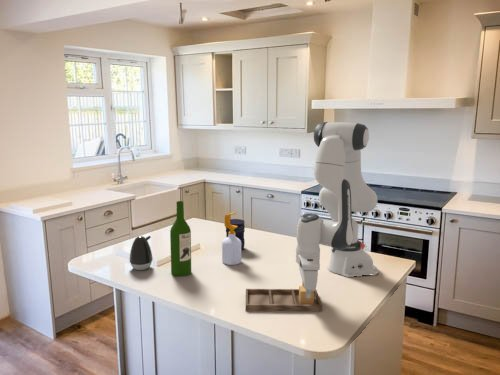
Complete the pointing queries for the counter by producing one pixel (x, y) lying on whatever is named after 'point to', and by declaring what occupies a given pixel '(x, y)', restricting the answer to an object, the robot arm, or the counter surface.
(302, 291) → the letter cube
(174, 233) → the wine bottle
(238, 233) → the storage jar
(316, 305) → the organiser
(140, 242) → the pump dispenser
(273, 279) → the counter surface
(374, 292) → the counter surface
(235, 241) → the soap bottle
